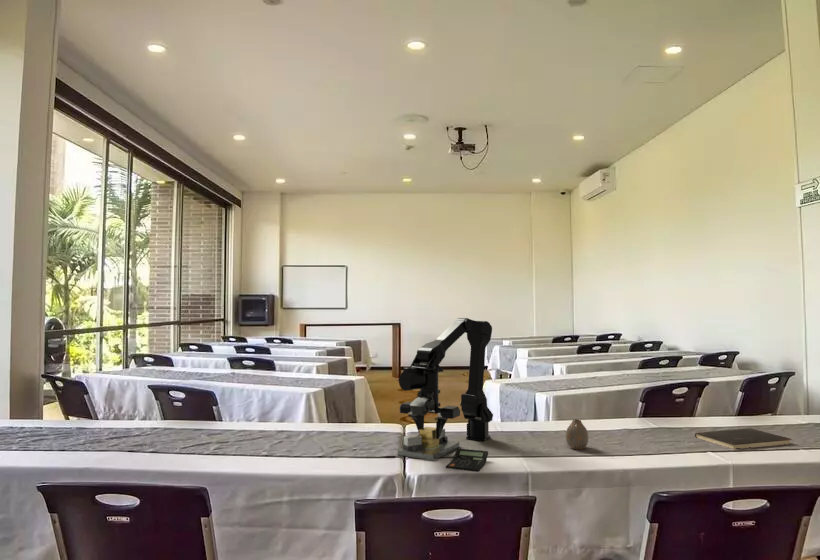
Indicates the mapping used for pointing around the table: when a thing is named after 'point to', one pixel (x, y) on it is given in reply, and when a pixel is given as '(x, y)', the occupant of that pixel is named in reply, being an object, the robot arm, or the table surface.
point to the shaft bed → (417, 450)
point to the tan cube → (429, 436)
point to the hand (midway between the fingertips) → (429, 437)
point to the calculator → (468, 460)
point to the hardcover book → (743, 438)
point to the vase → (577, 435)
